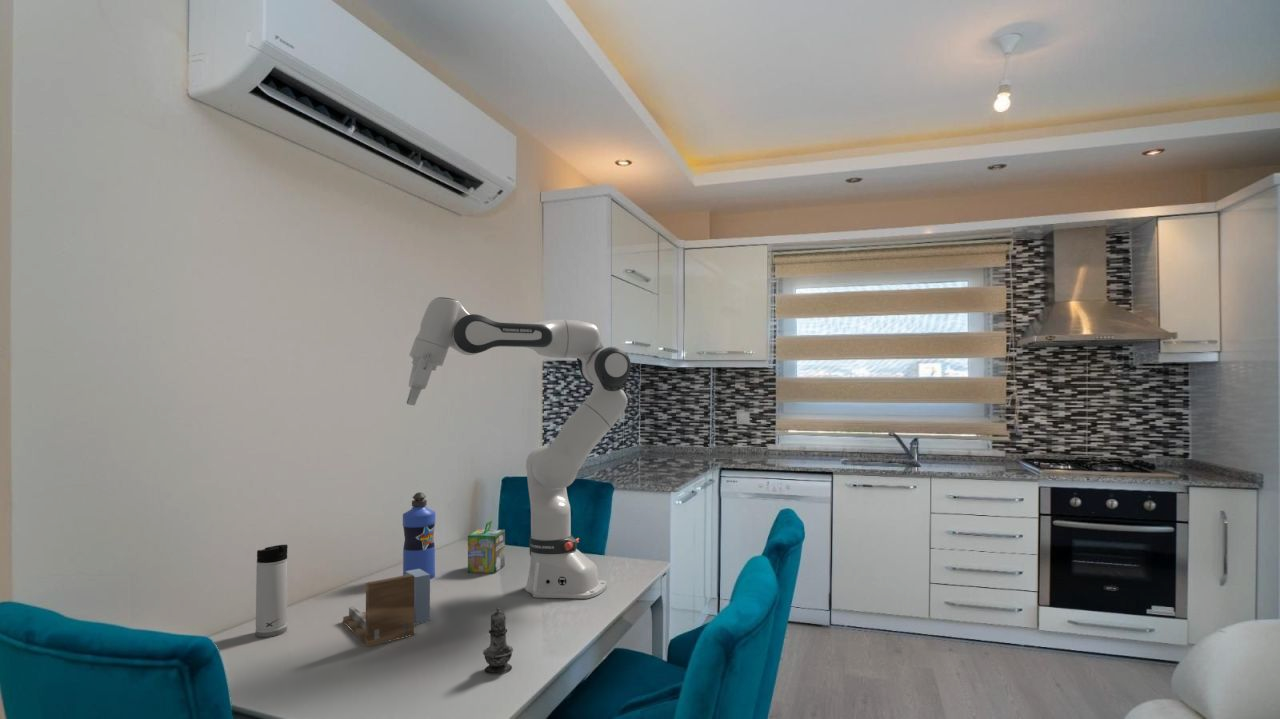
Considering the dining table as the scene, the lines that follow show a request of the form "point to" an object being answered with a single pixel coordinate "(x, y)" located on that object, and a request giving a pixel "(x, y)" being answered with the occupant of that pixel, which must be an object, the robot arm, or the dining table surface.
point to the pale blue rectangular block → (421, 595)
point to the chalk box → (486, 550)
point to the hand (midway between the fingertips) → (410, 404)
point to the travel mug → (271, 591)
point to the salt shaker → (498, 646)
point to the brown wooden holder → (385, 611)
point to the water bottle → (419, 537)
